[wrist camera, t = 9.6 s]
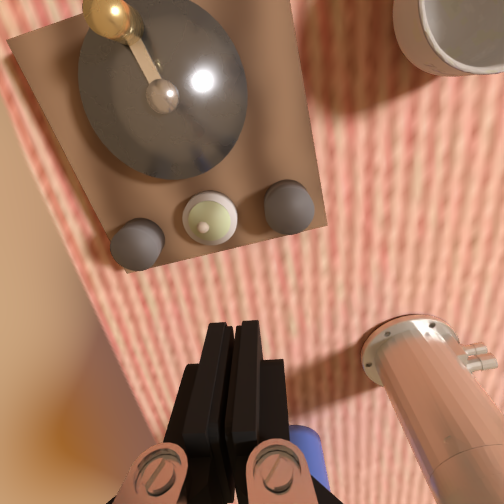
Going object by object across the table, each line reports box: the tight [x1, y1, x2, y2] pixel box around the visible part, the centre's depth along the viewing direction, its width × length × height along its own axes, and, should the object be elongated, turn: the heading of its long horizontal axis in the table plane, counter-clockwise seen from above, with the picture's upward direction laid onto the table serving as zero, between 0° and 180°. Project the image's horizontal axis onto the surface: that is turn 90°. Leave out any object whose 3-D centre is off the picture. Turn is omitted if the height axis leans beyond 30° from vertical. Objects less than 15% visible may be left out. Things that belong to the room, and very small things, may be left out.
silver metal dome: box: [78, 0, 248, 180], centre depth 24 cm, size 13×13×6 cm
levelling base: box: [6, 0, 328, 274], centre depth 28 cm, size 22×22×6 cm
